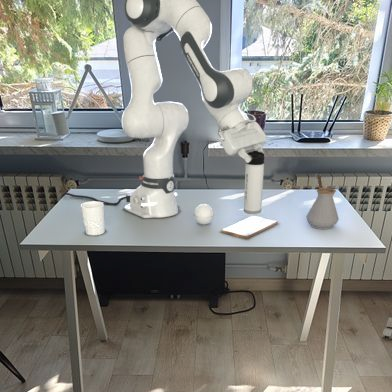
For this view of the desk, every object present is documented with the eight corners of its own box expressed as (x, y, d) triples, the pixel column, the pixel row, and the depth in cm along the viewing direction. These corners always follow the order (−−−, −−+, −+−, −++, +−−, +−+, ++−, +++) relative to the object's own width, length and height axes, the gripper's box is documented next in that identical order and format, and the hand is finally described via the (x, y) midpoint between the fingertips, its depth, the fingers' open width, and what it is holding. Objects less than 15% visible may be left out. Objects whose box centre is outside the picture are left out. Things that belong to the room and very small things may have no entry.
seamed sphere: (192, 221, 189) (192, 201, 185) (212, 220, 189) (212, 200, 185) (195, 230, 180) (195, 210, 176) (216, 229, 181) (216, 209, 177)
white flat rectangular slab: (221, 232, 179) (221, 229, 178) (252, 217, 191) (253, 215, 191) (246, 239, 173) (246, 236, 172) (277, 223, 186) (277, 221, 185)
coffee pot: (340, 231, 179) (347, 188, 170) (308, 231, 179) (313, 188, 170) (327, 212, 196) (333, 172, 188) (298, 212, 197) (302, 172, 188)
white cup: (96, 237, 175) (92, 209, 170) (79, 233, 179) (75, 205, 173) (110, 230, 181) (108, 203, 175) (94, 227, 184) (91, 199, 179)
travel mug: (260, 208, 182) (264, 150, 171) (261, 214, 176) (265, 155, 166) (243, 208, 183) (246, 150, 172) (243, 214, 177) (246, 154, 166)
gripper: (220, 122, 160) (244, 159, 160) (256, 114, 173) (278, 148, 173) (209, 136, 165) (232, 171, 165) (245, 127, 178) (266, 160, 178)
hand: (256, 159), depth 169 cm, fingers closed on travel mug, 6 cm apart
